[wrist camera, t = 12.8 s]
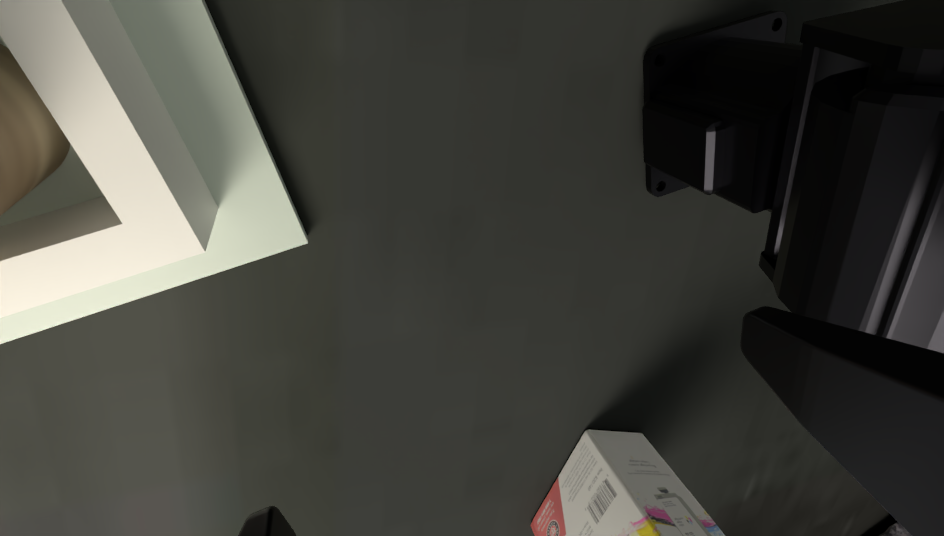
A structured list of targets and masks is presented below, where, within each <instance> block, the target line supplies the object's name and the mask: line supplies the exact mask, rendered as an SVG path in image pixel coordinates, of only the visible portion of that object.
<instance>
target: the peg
mask: <svg viewBox="0 0 944 536" xmlns="http://www.w3.org/2000/svg"><path fill="white" fill-rule="evenodd" d="M70 145H71V144H70V142H69V141H68V139H67V138H66V136H65V134H64V133H63V131H62V130H61V128H60V127H59V125H58V124H57V122H56V121H55V119H54V118H53V116H52V115H51V113H50V111H49V110H48V108H47V107H46V105H45V104H44V102H43V101H42V99H41V98H40V96H39V95H38V93H37V91H36V90H35V88H34V87H33V85H32V84H31V82H30V81H29V79H28V78H27V76H26V75H25V73H24V71H23V70H22V68H21V67H20V65H19V64H18V62H17V61H16V59H15V58H14V56H13V55H12V53H11V51H10V50H9V48H7V47H5V46H3V45H2V44H0V216H1V215H2V214H3V213H5V212H6V211H7V210H8V209H9V208H11V207H12V206H13V205H14V204H16V203H17V202H18V201H19V200H20V199H22V198H23V197H24V196H25V195H27V194H28V193H29V192H30V191H31V190H33V189H34V188H35V187H36V186H37V185H39V184H40V183H41V182H42V181H44V180H45V179H46V178H47V177H48V176H50V175H51V174H52V173H53V172H55V170H56V169H57V168H58V167H59V166H60V165H61V164H62V163H63V161H64V160H65V158H66V156H67V154H68V152H69V149H70Z"/></svg>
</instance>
